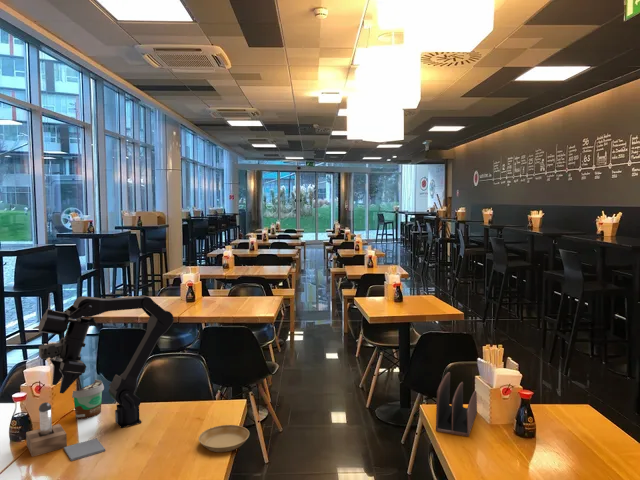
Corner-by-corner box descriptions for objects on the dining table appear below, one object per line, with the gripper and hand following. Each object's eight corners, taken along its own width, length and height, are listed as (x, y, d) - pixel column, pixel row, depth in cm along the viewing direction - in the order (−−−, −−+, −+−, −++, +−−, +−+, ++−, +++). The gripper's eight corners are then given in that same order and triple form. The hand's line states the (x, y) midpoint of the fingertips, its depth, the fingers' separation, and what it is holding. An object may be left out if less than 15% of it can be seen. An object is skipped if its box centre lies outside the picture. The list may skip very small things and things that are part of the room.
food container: (89, 422, 162) (88, 392, 162) (73, 421, 164) (71, 391, 163) (112, 407, 174) (111, 380, 174) (96, 406, 176) (95, 379, 175)
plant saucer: (238, 458, 138) (238, 449, 138) (190, 453, 141) (189, 444, 141) (256, 434, 152) (256, 426, 152) (211, 431, 155) (211, 423, 155)
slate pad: (96, 440, 149) (96, 438, 149) (105, 450, 142) (105, 448, 142) (63, 449, 144) (63, 447, 144) (71, 461, 137) (71, 458, 137)
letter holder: (435, 431, 153) (435, 387, 152) (447, 408, 171) (447, 368, 170) (468, 437, 148) (469, 391, 148) (477, 413, 166) (477, 371, 166)
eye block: (60, 436, 152) (59, 423, 152) (66, 446, 145) (66, 433, 145) (26, 445, 147) (26, 432, 146) (31, 456, 140) (31, 442, 139)
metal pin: (51, 442, 148) (49, 399, 147) (53, 446, 146) (52, 402, 145) (39, 445, 146) (37, 402, 145) (41, 449, 144) (39, 405, 143)
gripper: (40, 327, 152) (22, 377, 150) (53, 339, 138) (34, 395, 136) (77, 333, 159) (61, 382, 157) (94, 345, 145) (76, 398, 143)
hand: (57, 388), depth 148 cm, fingers open, 9 cm apart
